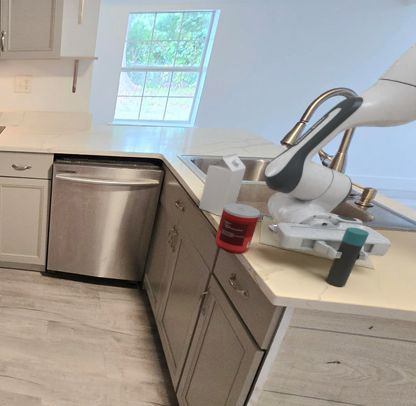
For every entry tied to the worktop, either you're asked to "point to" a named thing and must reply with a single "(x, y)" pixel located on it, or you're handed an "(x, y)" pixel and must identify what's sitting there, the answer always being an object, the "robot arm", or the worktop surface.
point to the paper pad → (269, 239)
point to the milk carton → (222, 183)
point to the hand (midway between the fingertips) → (350, 256)
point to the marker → (347, 256)
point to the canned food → (236, 227)
